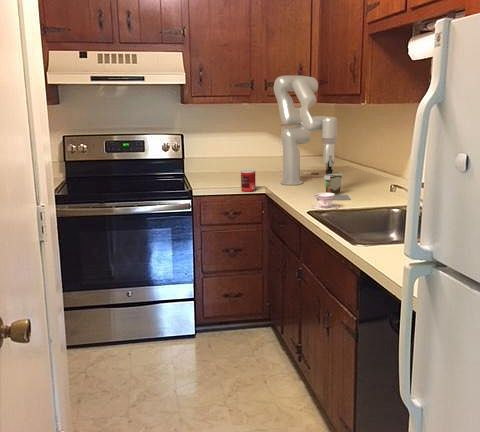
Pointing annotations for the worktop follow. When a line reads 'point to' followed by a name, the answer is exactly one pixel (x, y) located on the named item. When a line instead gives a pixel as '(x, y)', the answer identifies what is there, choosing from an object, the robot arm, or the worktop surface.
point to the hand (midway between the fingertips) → (329, 177)
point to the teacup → (324, 201)
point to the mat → (339, 197)
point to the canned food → (248, 181)
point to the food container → (333, 183)
